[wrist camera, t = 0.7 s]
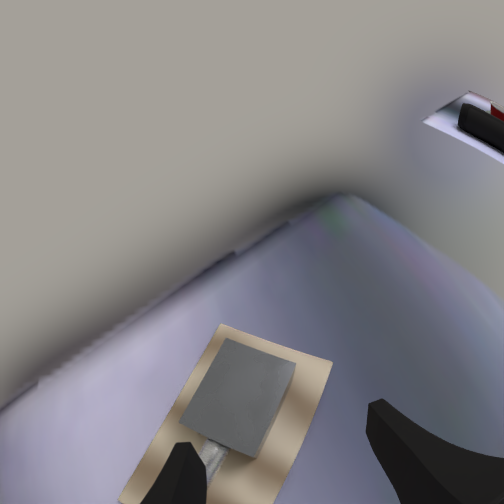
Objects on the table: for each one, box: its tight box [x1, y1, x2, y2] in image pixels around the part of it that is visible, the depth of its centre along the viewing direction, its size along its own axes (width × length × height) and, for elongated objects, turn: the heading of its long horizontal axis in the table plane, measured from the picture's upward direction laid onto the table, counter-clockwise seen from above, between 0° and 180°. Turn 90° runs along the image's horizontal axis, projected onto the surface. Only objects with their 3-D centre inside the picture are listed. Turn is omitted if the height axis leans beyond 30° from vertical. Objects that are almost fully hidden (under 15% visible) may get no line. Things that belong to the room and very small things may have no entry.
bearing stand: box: [118, 323, 333, 504], centre depth 19 cm, size 22×12×6 cm, turn 156°
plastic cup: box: [490, 101, 504, 121], centre depth 65 cm, size 11×11×12 cm
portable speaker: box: [458, 103, 504, 152], centre depth 59 cm, size 26×10×10 cm, turn 45°
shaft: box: [198, 437, 231, 491], centre depth 17 cm, size 14×4×4 cm, turn 156°
